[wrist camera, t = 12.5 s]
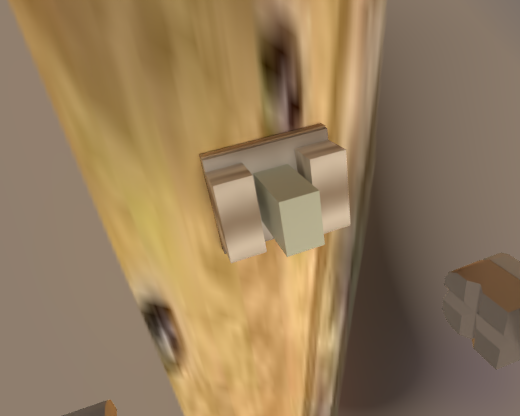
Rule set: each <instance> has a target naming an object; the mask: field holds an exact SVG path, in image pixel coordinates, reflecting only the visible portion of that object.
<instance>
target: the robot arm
mask: <svg viewBox="0 0 520 416" xmlns="http://www.w3.org/2000/svg"><path fill="white" fill-rule="evenodd" d="M444 285H445V287H446V288H448V292H447V293H446V295H445V296H444V298H443V306H442V310H443V312H444V315H445V318H446V320H447V321H448V323H449V324H450V325H451V327H452V328H453V329H454V330H455V331H456V332H457V333H458V334H459V335H461V336H464V337H467V338H470V339H472V343H473V348H474V349H475V350H476V351H477V352H478V353H479V354H480V355H481V356H482V357H483V358H484V359H485V360H486V361H487V362H488V363H489V364H491V365H492V366H493V367H494V368H495V369H496V370H497V369H499V368H502V367H504V366H507V365H509V364H511V363H514V362H516V361H519V360H520V261H518V260H517V259H515V258H514V257H512V256H510V255H508V254H505V253H498V254H496V255H493V256H490V257H488V258H485V259H483V260H479V261H476V262H474V263H471V264H469V265H466V266H463V267H461V268H458V269H456V270H453V271H451V272H449V273H448V274H447V275H446V277H445V282H444ZM63 416H117V409H116V407H115V406H114V404H113V402H112V401H111V400H107V401H103V402H101V403H98V404H95V405H92V406H89V407H86V408H83V409H80V410H78V411H75V412H72V413H69V414H66V415H63Z"/></svg>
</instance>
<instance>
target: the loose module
mask: <svg viewBox="0 0 520 416" xmlns="http://www.w3.org/2000/svg"><path fill="white" fill-rule="evenodd" d="M253 175H254V180H255V186H256V191H257V197H258V202H259V208H260V213H261V218H262V222H263V223H264V225H265V226H266V227H267V229H268V230H269V232H270V233H271V235H272V236H273V237H274V239H275V240H276V242H277V243H278V245H279V246H280V247H281V249H282V250H283V252H284V253H285V254H286V256H287V257H288V256H291V255H295V254H298V253H301V252H304V251H307V250H310V249H313V248H316V247H319V246H322V245H325V243H324V233H323V223H322V213H321V203H320V193H319V190H318V189H317V188H316V187H314V186H313V185H312V184H311V183H310V182H309V181H307V180H306V179H305V178H304V177H303V176H301V175H300V174H299V173H298V172H297V171H296V170H294V169H293V168H292V167H291V166H290V165H288V164H285V165H282V166H278V167H274V168H271V169H267V170H263V171H260V172H256V173H253Z"/></svg>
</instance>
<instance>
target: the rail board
mask: <svg viewBox="0 0 520 416" xmlns="http://www.w3.org/2000/svg"><path fill="white" fill-rule="evenodd" d="M200 159H201V163H202V167H203V171H204V175H205V180H206V184H207V188H208V192H209V196H210V200H211V204H212V208H213V212H214V216H215V220H216V224H217V228H218V232H219V236H220V240H221V244H222V249H223V251H224V253H225V254H227V255H228V257H229V260H230V262H231V263H233V262H237V261H240V260H243V259H246V258H249V257H252V256H255V255H259V254H262V253H265V252H267V250H266V245H265V241H268V240H272V239H274V237H273V236H272V235H271V233H270V232H269V230H268V229H267V227H266V226H265V225H264V223H263V222H262V218H261V213H260V208H259V202H258V197H257V191H256V186H255V180H254V175H253V173H256V172H260V171H263V170H267V169H271V168H274V167H278V166H282V165H285V164H288V165H290V166H291V167H292V168H293V169H294V170H296V171H297V172H298V173H299V174H300V175H301V176H303V177H304V178H305V179H306V180H307V181H309V182H310V183H311V184H312V185H313V186H314V187H316V188H317V189H318V190H319V193H320V203H321V213H322V223H323V233H328V232H331V231H334V230H337V229H340V228H343V227H346V226H350V211H349V194H348V177H347V160H346V149H344V148H342V147H340V146H338V145H337V144H335V143H333V142H331V141H329V140H328V133H327V128H326V127H325V125H323V124H317V125H313V126H309V127H306V128H302V129H298V130H294V131H290V132H286V133H282V134H278V135H274V136H270V137H267V138H263V139H259V140H255V141H251V142H247V143H243V144H239V145H235V146H231V147H227V148H224V149H220V150H216V151H212V152H208V153H204V154H200Z"/></svg>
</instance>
